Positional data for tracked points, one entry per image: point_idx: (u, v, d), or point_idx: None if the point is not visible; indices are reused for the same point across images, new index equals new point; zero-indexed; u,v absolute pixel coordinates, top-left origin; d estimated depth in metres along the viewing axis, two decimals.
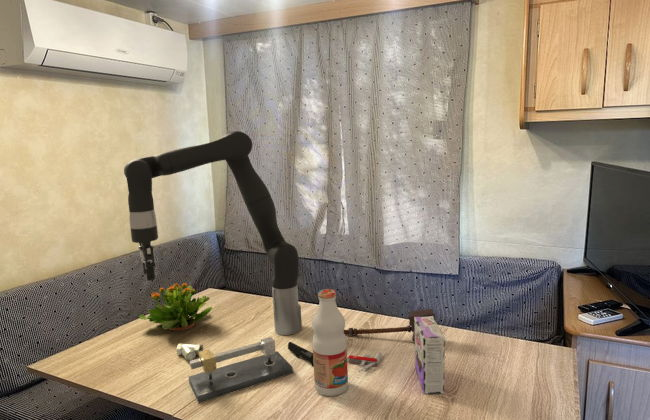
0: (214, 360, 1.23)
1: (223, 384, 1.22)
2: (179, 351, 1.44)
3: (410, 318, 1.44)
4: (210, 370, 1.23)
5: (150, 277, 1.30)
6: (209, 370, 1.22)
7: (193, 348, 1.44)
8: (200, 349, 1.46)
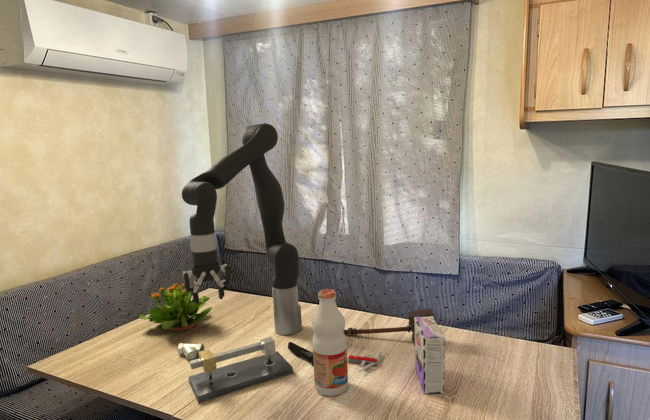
0: (214, 360, 1.23)
1: (223, 384, 1.22)
2: (180, 351, 1.45)
3: (409, 318, 1.44)
4: (210, 370, 1.23)
5: None
6: (209, 370, 1.22)
7: (194, 348, 1.44)
8: (201, 349, 1.46)
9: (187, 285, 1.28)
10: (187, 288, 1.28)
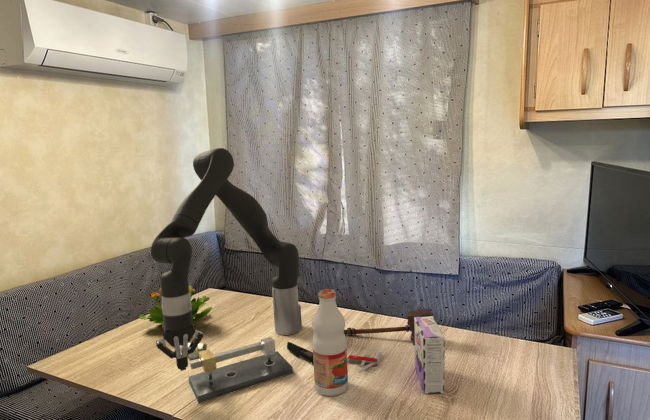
0: (214, 360, 1.23)
1: (223, 384, 1.22)
2: None
3: (408, 318, 1.44)
4: (210, 370, 1.23)
5: None
6: (209, 370, 1.22)
7: (197, 347, 1.44)
8: (204, 348, 1.47)
9: (167, 353, 1.17)
10: (170, 354, 1.17)
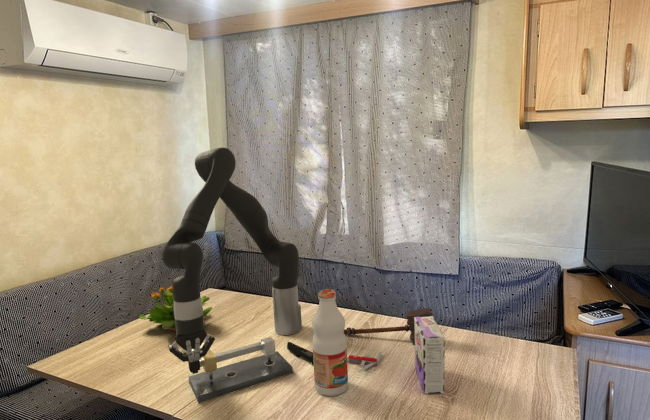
0: (215, 360, 1.23)
1: (223, 384, 1.22)
2: None
3: (408, 317, 1.44)
4: (211, 370, 1.23)
5: None
6: (209, 370, 1.23)
7: None
8: None
9: (180, 357, 1.19)
10: (182, 358, 1.19)
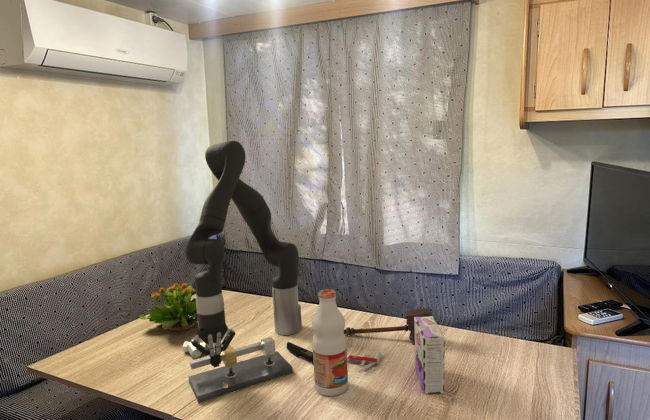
0: (235, 354, 1.26)
1: (223, 384, 1.22)
2: (185, 349, 1.46)
3: (407, 317, 1.45)
4: (231, 364, 1.25)
5: None
6: (230, 364, 1.25)
7: None
8: (206, 347, 1.47)
9: (202, 350, 1.21)
10: (204, 351, 1.22)
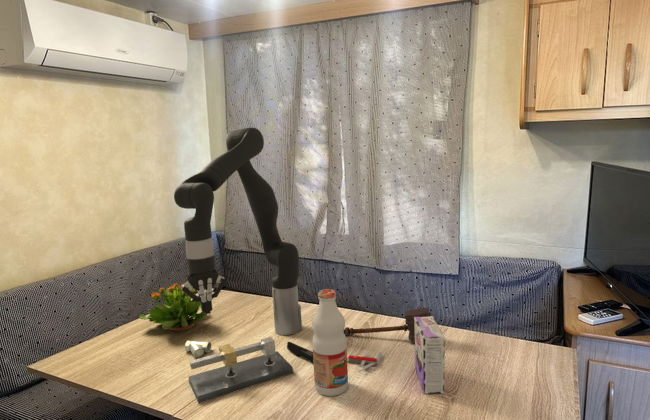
0: (235, 354, 1.26)
1: (223, 384, 1.22)
2: (187, 348, 1.46)
3: (406, 317, 1.45)
4: (231, 364, 1.25)
5: None
6: (230, 364, 1.25)
7: (201, 345, 1.45)
8: (208, 346, 1.48)
9: (192, 296, 1.20)
10: (195, 297, 1.21)
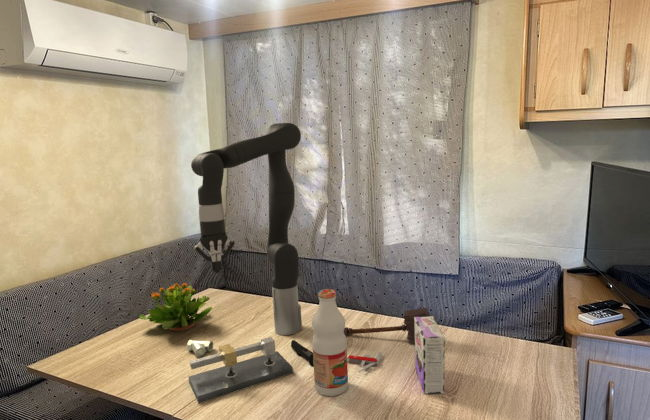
0: (235, 354, 1.26)
1: (223, 384, 1.22)
2: (190, 347, 1.47)
3: (405, 317, 1.45)
4: (231, 364, 1.25)
5: None
6: (230, 364, 1.25)
7: (203, 344, 1.46)
8: (210, 345, 1.48)
9: (204, 256, 1.34)
10: (206, 257, 1.34)
